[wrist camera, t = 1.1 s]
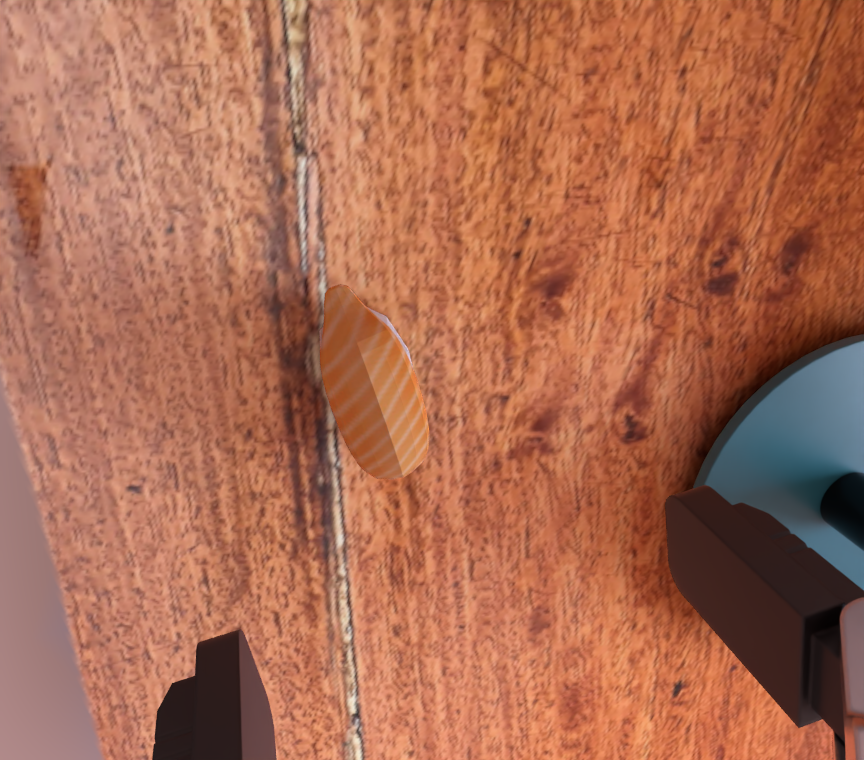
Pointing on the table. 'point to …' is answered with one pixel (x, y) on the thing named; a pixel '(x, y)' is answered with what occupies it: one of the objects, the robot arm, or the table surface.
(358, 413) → the sushi
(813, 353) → the lid
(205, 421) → the table surface
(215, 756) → the robot arm
